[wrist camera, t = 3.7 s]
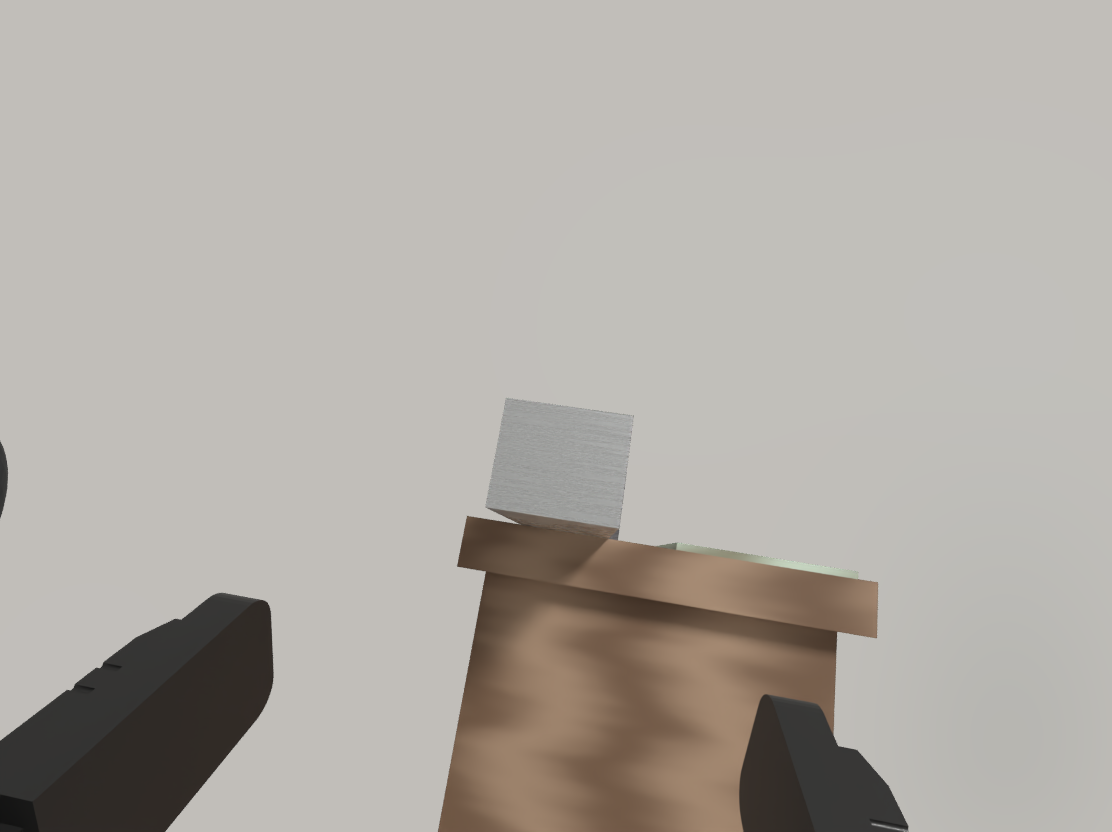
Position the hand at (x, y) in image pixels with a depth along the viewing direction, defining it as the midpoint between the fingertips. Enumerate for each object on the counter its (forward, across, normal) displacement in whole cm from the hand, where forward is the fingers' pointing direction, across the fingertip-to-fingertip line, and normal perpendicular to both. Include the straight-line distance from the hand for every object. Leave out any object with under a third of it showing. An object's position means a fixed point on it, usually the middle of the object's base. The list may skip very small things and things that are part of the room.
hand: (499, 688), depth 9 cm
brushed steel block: (+14, 0, +5) cm, 15 cm away
